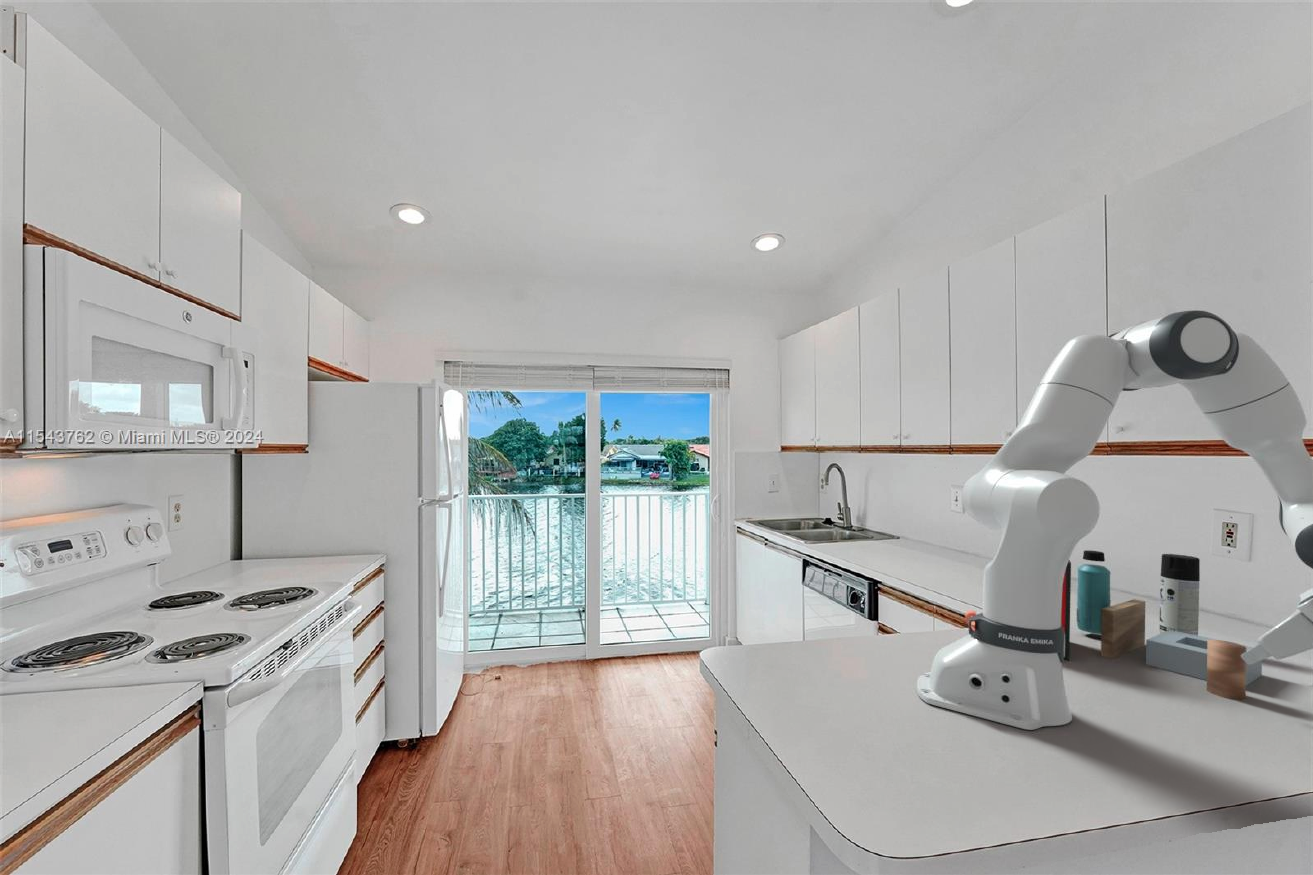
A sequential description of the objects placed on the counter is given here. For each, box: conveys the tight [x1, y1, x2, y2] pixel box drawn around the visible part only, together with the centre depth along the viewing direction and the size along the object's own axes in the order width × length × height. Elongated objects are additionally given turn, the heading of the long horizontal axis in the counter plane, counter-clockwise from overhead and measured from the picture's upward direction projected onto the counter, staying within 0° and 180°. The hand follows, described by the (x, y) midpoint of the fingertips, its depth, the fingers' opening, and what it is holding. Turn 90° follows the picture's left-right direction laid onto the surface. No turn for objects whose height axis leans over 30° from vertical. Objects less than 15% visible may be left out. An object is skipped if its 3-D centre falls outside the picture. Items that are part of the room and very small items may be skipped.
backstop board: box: [1100, 598, 1146, 660], centre depth 129 cm, size 2×18×10 cm, turn 124°
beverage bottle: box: [1076, 549, 1112, 635], centre depth 139 cm, size 6×7×20 cm
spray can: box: [1158, 553, 1201, 636], centre depth 135 cm, size 7×7×20 cm
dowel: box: [1206, 639, 1247, 701], centre depth 106 cm, size 5×5×9 cm
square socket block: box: [1145, 630, 1263, 687], centre depth 118 cm, size 14×14×5 cm
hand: (1253, 655), depth 103 cm, fingers open, 8 cm apart
